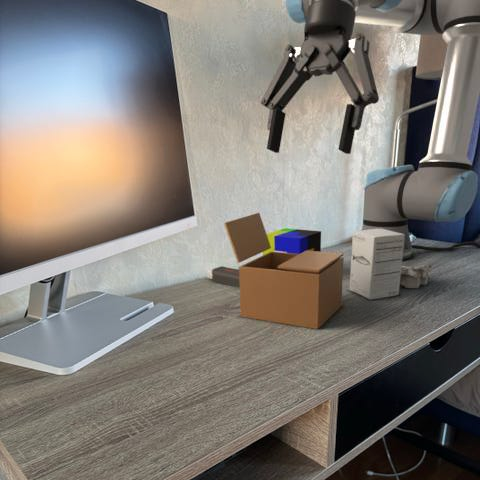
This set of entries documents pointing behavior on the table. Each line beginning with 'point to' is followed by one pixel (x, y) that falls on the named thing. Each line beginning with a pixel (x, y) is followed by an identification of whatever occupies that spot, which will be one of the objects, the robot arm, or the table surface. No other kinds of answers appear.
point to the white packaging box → (376, 263)
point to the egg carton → (414, 276)
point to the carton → (292, 287)
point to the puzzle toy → (294, 241)
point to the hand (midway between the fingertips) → (306, 151)
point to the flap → (247, 236)
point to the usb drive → (224, 276)
